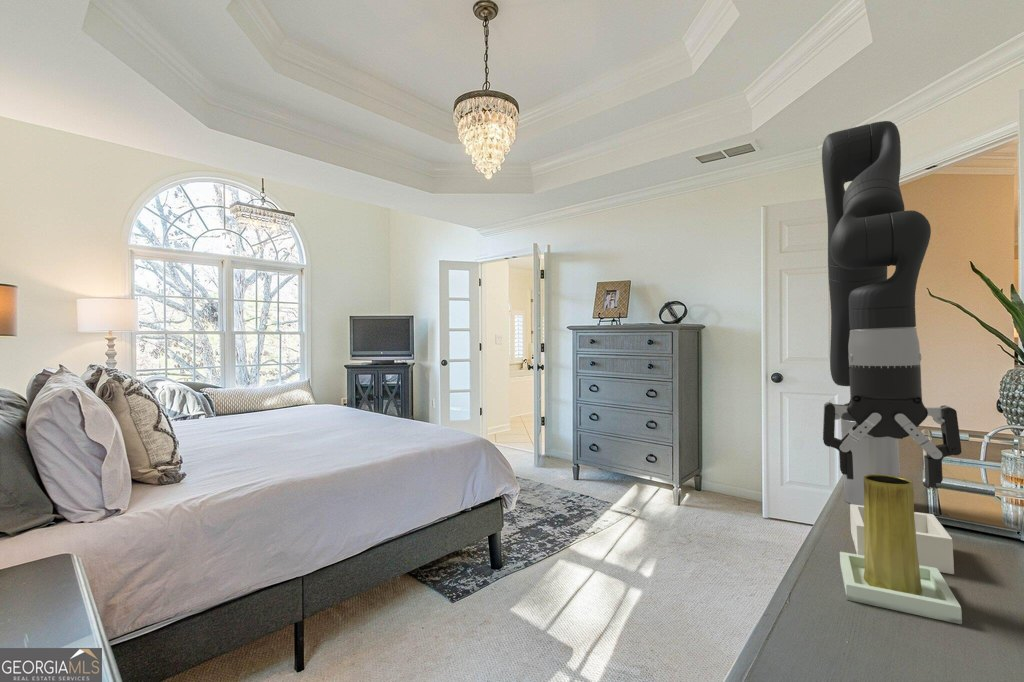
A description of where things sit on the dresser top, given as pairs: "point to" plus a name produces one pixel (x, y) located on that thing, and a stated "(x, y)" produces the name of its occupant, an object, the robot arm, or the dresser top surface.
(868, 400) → the robot arm
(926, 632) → the dresser top surface
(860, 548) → the sleeve
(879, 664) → the dresser top surface
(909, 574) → the vase
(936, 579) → the tray
